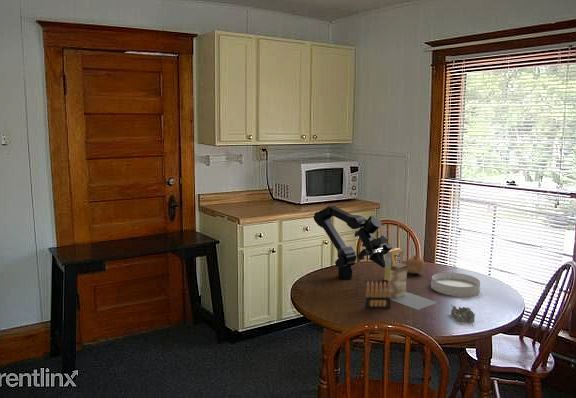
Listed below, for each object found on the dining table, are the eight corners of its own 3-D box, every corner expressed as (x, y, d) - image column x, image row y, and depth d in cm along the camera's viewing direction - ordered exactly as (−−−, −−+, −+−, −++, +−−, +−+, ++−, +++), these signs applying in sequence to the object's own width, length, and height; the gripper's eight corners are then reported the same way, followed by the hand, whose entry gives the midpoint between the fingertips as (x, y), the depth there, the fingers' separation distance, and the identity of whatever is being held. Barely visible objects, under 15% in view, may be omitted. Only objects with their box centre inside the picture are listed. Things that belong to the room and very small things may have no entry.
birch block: (389, 295, 237) (391, 265, 235) (398, 292, 241) (400, 263, 239) (397, 298, 234) (398, 267, 232) (405, 295, 238) (407, 265, 235)
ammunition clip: (389, 307, 224) (390, 280, 222) (390, 309, 222) (391, 281, 220) (364, 307, 224) (365, 280, 222) (365, 308, 222) (366, 281, 220)
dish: (482, 286, 254) (482, 276, 253) (477, 300, 234) (478, 290, 233) (435, 279, 263) (435, 270, 262) (426, 293, 243) (427, 282, 242)
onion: (426, 277, 266) (427, 257, 264) (407, 276, 266) (408, 257, 264) (421, 271, 275) (422, 252, 274) (403, 271, 275) (404, 252, 274)
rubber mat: (371, 293, 240) (371, 292, 240) (391, 287, 249) (391, 286, 249) (418, 310, 220) (418, 309, 220) (438, 303, 229) (438, 302, 229)
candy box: (395, 277, 265) (396, 247, 263) (402, 279, 262) (403, 249, 260) (383, 280, 260) (385, 250, 257) (390, 282, 257) (391, 252, 254)
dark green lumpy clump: (449, 313, 219) (449, 304, 218) (467, 313, 219) (468, 304, 218) (457, 323, 208) (457, 313, 207) (476, 323, 208) (476, 313, 207)
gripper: (363, 232, 238) (380, 261, 231) (390, 227, 249) (407, 254, 243) (350, 245, 245) (366, 274, 238) (377, 240, 257) (393, 267, 250)
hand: (384, 267), depth 242 cm, fingers closed
